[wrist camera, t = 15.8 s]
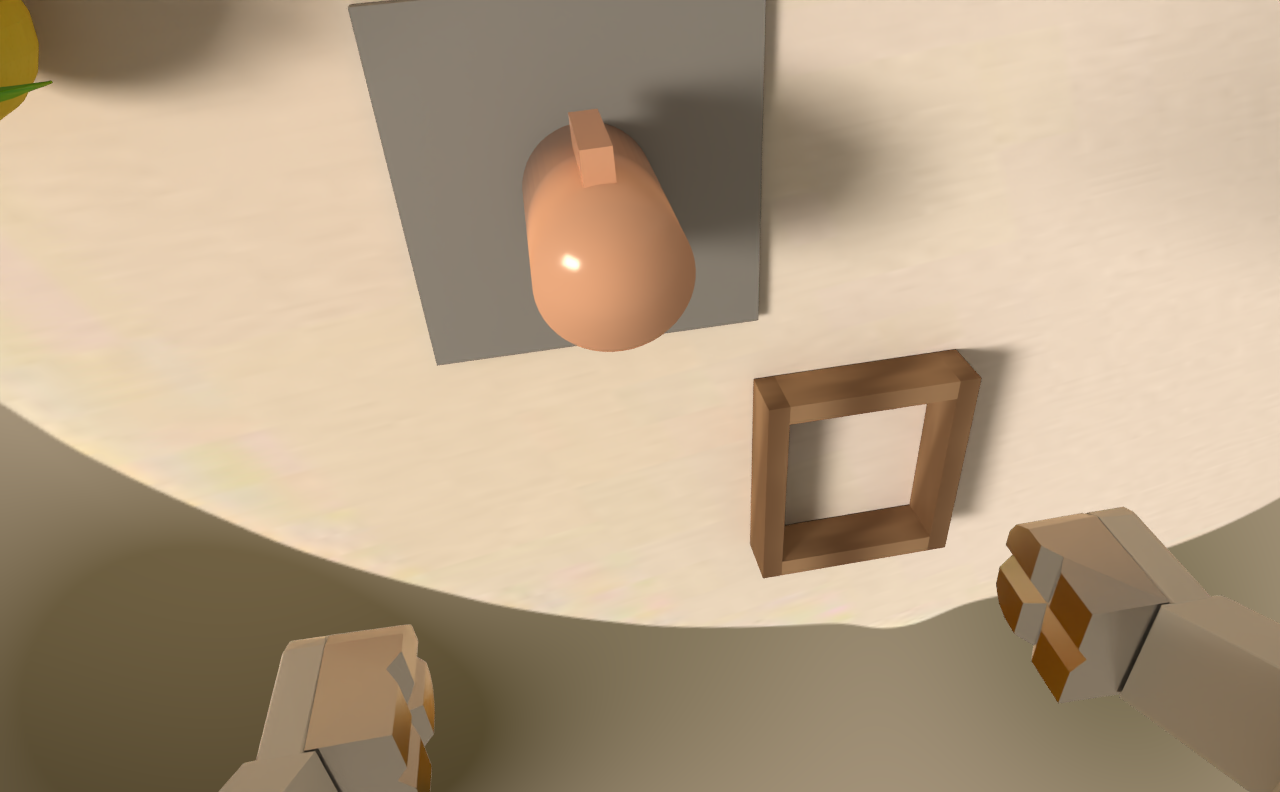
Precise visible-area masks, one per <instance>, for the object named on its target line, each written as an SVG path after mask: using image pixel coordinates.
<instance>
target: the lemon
mask: <svg viewBox="0 0 1280 792" xmlns="http://www.w3.org/2000/svg"><path fill="white" fill-rule="evenodd" d="M38 56H39V43H38V39H37V35H36V32H35V29H34V25H33V22H32V19H31V16H30V12H29V10H28V9H27V8H26V6H25V5H24V3H23V2H22V0H0V120H1V119H3V118H4V117H5V116H7V115H8V114H9V113H11V112H12V111H13V110H15V109H16V108H17V107H18V106H19V105H20V104H21V103H22V102H23V101H24V100H25V98H26V96H27V94H28V92H30V91H32V90H35V89H38V88H41V87H44V86H46V85H49V84H51V83H53V82H52V81H47V82H39V83H33V82H34V80H35V78H36V76H37V73H38Z"/></svg>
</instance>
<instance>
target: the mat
mask: <svg viewBox="0 0 1280 792" xmlns="http://www.w3.org/2000/svg"><path fill="white" fill-rule="evenodd" d="M765 6H766V0H391V1H381V2H371V3H361V4H351V5H349V6H348V10H349V14H350V18H351V22H352V26H353V30H354V34H355V38H356V42H357V46H358V50H359V55H360V59H361V63H362V67H363V71H364V75H365V79H366V83H367V87H368V91H369V95H370V99H371V103H372V107H373V111H374V115H375V119H376V123H377V127H378V131H379V135H380V139H381V143H382V147H383V151H384V155H385V159H386V163H387V167H388V171H389V175H390V179H391V183H392V187H393V191H394V195H395V199H396V203H397V207H398V211H399V215H400V219H401V223H402V227H403V231H404V235H405V239H406V243H407V247H408V251H409V255H410V259H411V263H412V267H413V271H414V275H415V279H416V283H417V287H418V291H419V295H420V299H421V303H422V307H423V311H424V315H425V319H426V323H427V327H428V331H429V335H430V339H431V343H432V347H433V351H434V355H435V359H436V363H437V365H444V364H451V363H458V362H465V361H472V360H480V359H487V358H494V357H501V356H508V355H515V354H522V353H529V352H536V351H543V350H550V349H558V348H565V347H572V346H577V345H575V344H572V343H571V342H569V341H567V340H565V339H564V338H562V337H561V336H559V335H558V334H557V333H556V332H555V331H554V330H553V329H551V328H550V326H549V325H548V324H547V323H546V321H545V320H544V319H543V317H542V315H541V314H540V312H539V310H538V308H537V305H536V303H535V299H534V295H533V289H532V279H531V269H530V260H529V250H528V241H527V231H526V221H525V212H524V202H523V192H522V180H523V174H524V170H525V166H526V163H527V161H528V159H529V157H530V155H531V154H532V152H533V151H534V149H535V148H536V147H537V145H538V144H539V143H540V142H541V141H542V140H543V139H544V138H545V137H546V136H548V135H549V134H551V133H552V132H554V131H555V130H557V129H559V128H561V127H564V126H567V125H569V117H568V112H575V111H583V110H590V109H598V111H599V113H600V116H601V118H602V120H603V123H604V124H608V125H611V126H614V127H616V128H618V129H620V130H622V131H623V132H625V133H626V134H628V135H629V136H630V137H631V138H633V139H634V140H635V141H636V142H637V144H638V145H639V146H640V147H641V149H642V150H643V152H644V153H645V155H646V157H647V159H648V161H649V163H650V165H651V167H652V169H653V171H654V173H655V175H656V177H657V179H658V181H659V183H660V185H661V187H662V189H663V191H664V193H665V195H666V197H667V199H668V201H669V203H670V205H671V207H672V209H673V211H674V213H675V216H676V218H677V220H678V222H679V224H680V226H681V228H682V230H683V232H684V234H685V236H686V238H687V240H688V242H689V244H690V246H691V249H692V252H693V255H694V259H695V266H696V279H695V286H694V290H693V293H692V297H691V299H690V301H689V304H688V306H687V308H686V309H685V311H684V312H683V314H682V316H681V317H680V318H679V319H678V320H677V322H676V323H675V324H674V325H673V326H672V327H671V328H670V329H669V330H668V331H666V332H665V333H671V332H678V331H685V330H692V329H700V328H707V327H714V326H721V325H728V324H735V323H742V322H749V321H756V320H758V304H759V262H760V219H761V176H762V134H763V91H764V49H765Z"/></svg>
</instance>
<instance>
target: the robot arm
mask: <svg viewBox="0 0 1280 792" xmlns="http://www.w3.org/2000/svg"><path fill="white" fill-rule="evenodd" d="M1006 545H1007V547H1008V548H1009V550H1010V551H1011V553H1012V554H1013V555H1012V556H1011V557H1010V558H1009V559H1008V560H1006V561H1005V562H1004V563H1003V564H1002V565H1001V566H1000V568H999V573H998V577H997V582H996V587H997V594H998V601H999V605H1000V607H1001V610H1002V612H1003V615H1004V618H1005V619H1006V621H1007V623H1008V624H1009V626H1010V628H1011V629H1012V631H1013V633H1014V634H1016V635H1017V636H1019V637H1020V638H1022V639H1024V640H1025V641H1027V642H1029V643H1030V644H1032V645H1034V646H1033V653H1032V659H1031V661H1032V663H1033V664H1034V666H1035V668H1036V669H1037V671H1038V673H1039V674H1040V676H1041V677H1042V679H1043V680H1044V682H1045V684H1046V685H1047V686H1048V688H1049V690H1050V691H1051V693H1052V694H1053V696H1054V698H1055V699H1056V701H1057V702H1058V703H1064V702H1071V701H1077V700H1083V699H1090V698H1097V697H1104V696H1110V695H1117V694H1121V695H1120V697H1119V698H1121V699H1122V700H1124V701H1125V702H1126V703H1128V704H1129V705H1130V706H1132V707H1133V708H1135V709H1136V710H1137V711H1139V712H1140V713H1142V714H1143V715H1144V716H1146V717H1147V718H1148V719H1150V720H1151V721H1152V722H1154V723H1155V724H1157V725H1158V726H1159V727H1161V728H1162V729H1164V730H1165V731H1166V732H1168V733H1169V734H1170V735H1172V736H1173V737H1175V738H1176V739H1177V740H1179V741H1180V742H1181V743H1183V744H1184V745H1186V746H1187V747H1188V748H1190V749H1191V750H1192V751H1194V752H1195V753H1197V754H1198V755H1199V756H1201V757H1202V758H1203V759H1205V760H1206V761H1208V762H1209V763H1210V764H1212V765H1213V766H1214V767H1216V768H1217V769H1219V770H1220V771H1221V772H1223V773H1224V774H1225V775H1227V776H1228V777H1230V778H1231V779H1232V780H1234V781H1235V782H1236V783H1238V784H1239V785H1241V786H1242V787H1243V788H1245V789H1246V790H1248V791H1249V792H1280V623H1278V622H1276V621H1274V620H1271V619H1270V618H1268V617H1266V616H1264V615H1262V614H1259V613H1257V612H1255V611H1253V610H1251V609H1249V608H1247V607H1245V606H1243V605H1241V604H1239V603H1237V602H1235V601H1233V600H1231V599H1229V598H1226V597H1225V596H1222V595H1219V596H1210V595H1209V594H1208V593H1207V592H1206V591H1205V590H1204V588H1203V587H1202V586H1201V585H1200V584H1199V583H1198V582H1197V581H1196V580H1195V579H1194V578H1193V577H1192V575H1191V574H1190V573H1189V572H1188V571H1187V570H1186V569H1185V568H1184V567H1183V565H1182V564H1181V563H1180V562H1179V561H1178V560H1177V559H1176V558H1175V557H1174V556H1173V555H1172V553H1171V552H1170V551H1169V550H1168V549H1167V548H1166V547H1165V546H1164V545H1163V543H1162V542H1161V541H1160V540H1159V539H1158V538H1157V537H1156V536H1155V535H1154V534H1153V533H1152V531H1151V530H1150V529H1149V528H1148V527H1147V526H1146V525H1145V524H1144V523H1143V522H1142V520H1141V519H1140V518H1139V517H1138V516H1137V515H1136V514H1135V513H1134V512H1133V511H1131V510H1129V509H1127V508H1125V507H1120V508H1114V509H1107V510H1101V511H1095V512H1089V513H1086V514H1084V513H1079V514H1073V515H1068V516H1062V517H1056V518H1051V519H1045V520H1039V521H1034V522H1028V523H1022V524H1017V525H1016V526H1015V527H1014V528H1013V529H1012V530H1011V531H1010V532H1009V535H1008V539H1007V542H1006ZM417 648H418V639H417V637H416V635H415V632H414V630H413V627H412V625H401V626H394V627H386V628H379V629H371V630H365V631H357V632H349V633H342V634H335V635H329V636H322V637H316V638H309V639H302V640H295V641H290V643H289V644H288V646H287V647H286V649H285V650H284V652H283V654H282V658H281V662H280V666H279V670H278V674H277V678H276V682H275V686H274V690H273V694H272V698H271V702H270V706H269V710H268V714H267V718H266V722H265V726H264V730H263V734H262V738H261V742H260V746H259V750H258V755H257V758H256V761H252V762H247V763H243V765H242V766H241V767H240V768H239V769H238V770H237V771H236V773H235V774H234V775H233V776H232V777H231V778H230V780H229V781H228V782H227V783H226V784H225V785H224V786H223V788H222V789H221V790H220V791H219V792H430V787H431V772H432V765H431V763H430V760H429V757H428V755H427V752H426V750H425V745H426V744H427V742H428V741H429V740H430V738H431V737H432V736H433V734H434V720H435V707H434V691H433V686H432V681H431V676H430V672H429V669H428V667H427V664H426V662H425V661H423V660H421V659H419V658H418V657H417Z"/></svg>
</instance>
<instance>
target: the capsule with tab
mask: <svg viewBox="0 0 1280 792" xmlns="http://www.w3.org/2000/svg"><path fill="white" fill-rule="evenodd" d="M568 117H569V125H567V126H564V127H561V128H559V129H557V130H555V131H554V132H552V133H551V134H549V135H548V136H546V137H545V138H544V139H543V140H542V141H541V142H540V143H539V144H538V145H537V147H536V148H535V149H534V151H533V152H532V154H531V155H530V157H529V159H528V161H527V163H526V166H525V170H524V174H523V180H522V192H523V202H524V212H525V221H526V231H527V241H528V250H529V260H530V269H531V279H532V289H533V295H534V299H535V303H536V305H537V308H538V310H539V312H540V314H541V315H542V317H543V319H544V320H545V321H546V323H547V324H548V325H549V326H550V328H551V329H553V330H554V331H555V332H556V333H557V334H558V335H559V336H561V337H562V338H564V339H565V340H567V341H569V342H571V343H572V344H575V345H577V346H580V347H582V348H586V349H590V350H595V351H602V352H615V351H624V350H629V349H633V348H636V347H639V346H642V345H645V344H647V343H649V342H651V341H653V340H655V339H656V338H658V337H660V336H661V335H662V334H664V333H665V332H666V331H668V330H669V329H670V328H671V327H672V326H673V325H674V324H675V323H676V322H677V320H678V319H679V318H680V317H681V316H682V314H683V312H684V311H685V309H686V308H687V306H688V304H689V301H690V299H691V297H692V293H693V290H694V286H695V279H696V266H695V259H694V255H693V252H692V249H691V246H690V244H689V242H688V240H687V238H686V236H685V234H684V232H683V230H682V228H681V226H680V224H679V222H678V220H677V218H676V216H675V213H674V211H673V209H672V207H671V205H670V203H669V201H668V199H667V197H666V195H665V193H664V191H663V189H662V187H661V185H660V183H659V181H658V179H657V177H656V175H655V173H654V171H653V169H652V167H651V165H650V163H649V161H648V159H647V157H646V155H645V153H644V152H643V150H642V149H641V147H640V146H639V145H638V144H637V142H636V141H635V140H634V139H633V138H631V137H630V136H629V135H628V134H626V133H625V132H623V131H622V130H620V129H618V128H616V127H614V126H611V125H608V124H604V123H603V120H602V118H601V116H600V113H599V111H598V109H590V110H583V111H575V112H568Z"/></svg>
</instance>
